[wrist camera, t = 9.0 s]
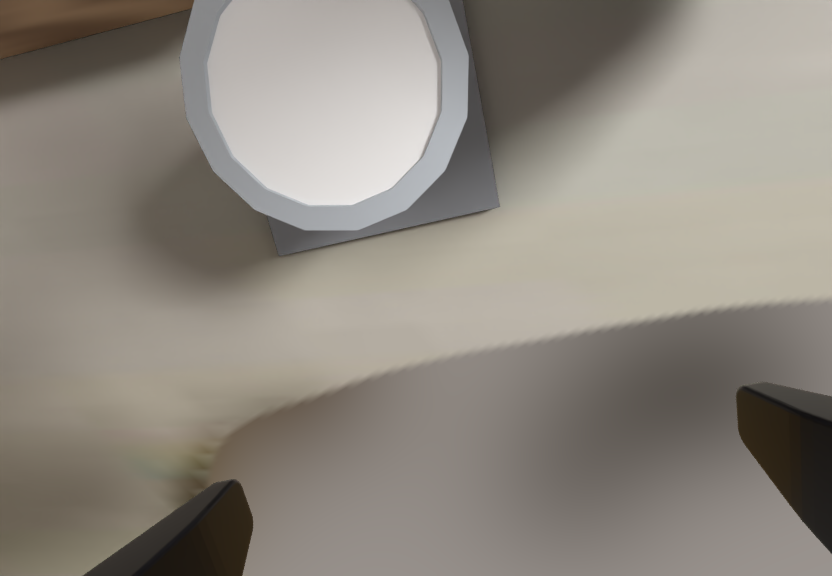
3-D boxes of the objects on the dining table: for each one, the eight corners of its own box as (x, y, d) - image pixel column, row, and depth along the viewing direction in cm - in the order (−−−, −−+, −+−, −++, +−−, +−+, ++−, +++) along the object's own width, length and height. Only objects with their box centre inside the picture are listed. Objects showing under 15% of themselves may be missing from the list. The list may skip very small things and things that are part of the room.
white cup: (341, 241, 19) (296, 285, 12) (232, 88, 18) (114, 43, 11) (488, 140, 18) (526, 128, 11) (384, -31, 17) (357, -160, 10)
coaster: (452, -45, 17) (453, -52, 17) (497, 205, 19) (500, 206, 19) (213, 18, 18) (206, 13, 17) (283, 253, 20) (278, 256, 19)
